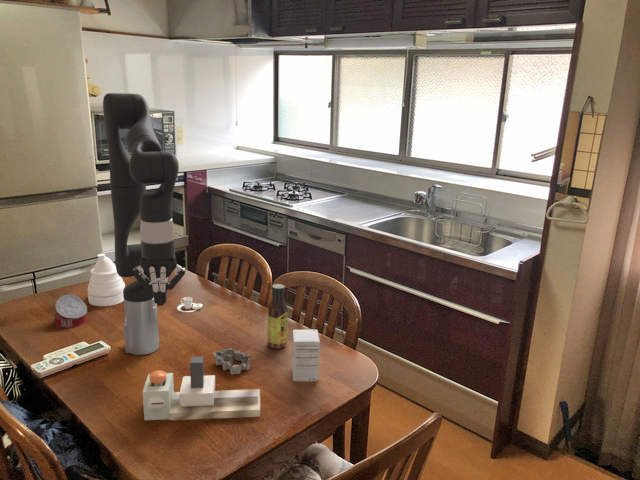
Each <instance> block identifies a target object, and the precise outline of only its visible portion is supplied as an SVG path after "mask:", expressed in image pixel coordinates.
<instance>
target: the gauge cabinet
mask: <svg viewBox="0 0 640 480" xmlns="http://www.w3.org/2000/svg"><path fill="white" fill-rule="evenodd" d="M150 374H151V373H148V374H147V378H146V381H145V382H144V386H143V389H142V403H143V405H142V406H143V414H144V415H143V418H144V421H156V420H158V421H159V420H170V419H169V412H170V408H171V404H172V400H173V396H174V392H175V385H174V373H173V372H166V377H167V379H166V380H165V381H164V382H163V386H154V383H151V382H150V379H149V375H150Z"/></svg>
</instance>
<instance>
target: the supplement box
mask: <svg viewBox="0 0 640 480" xmlns="http://www.w3.org/2000/svg"><path fill="white" fill-rule="evenodd" d="M320 348H321V341H320V336H319V331H318V329H293V330H292V347H291V349H292V351H291V352H292V354H291V370H292V381H293V382H319V375H320V374H319V373H320V371H319V370H320V369H319V368H320V352H321V351H320Z"/></svg>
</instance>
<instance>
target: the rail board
mask: <svg viewBox="0 0 640 480" xmlns="http://www.w3.org/2000/svg"><path fill="white" fill-rule="evenodd" d="M179 393H180V391H174V396H173V400H172V404H171V408H170V412H169V419H168V420H169V421H189V420H209V419H210V420H212V419H232V418H233V419H236V418H258V417H261V389H260V388H253V389H252V388H251V389H249V388H248V389H229V390H228V389H226V390H223V389H222V390H215V393H214V405H210V406H185V407H181V405H180V400H179Z"/></svg>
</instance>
